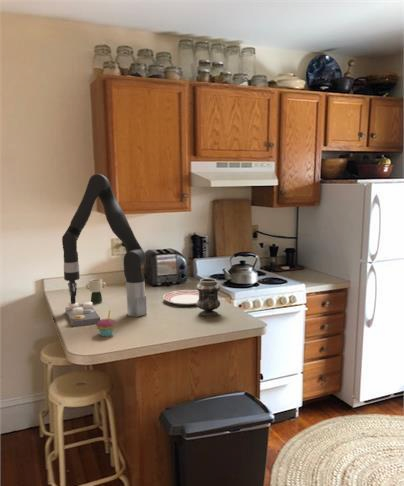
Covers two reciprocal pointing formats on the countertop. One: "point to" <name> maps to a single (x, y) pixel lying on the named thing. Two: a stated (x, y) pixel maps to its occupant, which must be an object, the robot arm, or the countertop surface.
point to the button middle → (87, 305)
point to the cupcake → (106, 326)
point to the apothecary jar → (208, 297)
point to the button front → (77, 311)
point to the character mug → (96, 289)
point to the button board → (82, 317)
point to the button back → (73, 305)
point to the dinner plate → (182, 297)
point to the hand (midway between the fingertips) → (73, 303)
